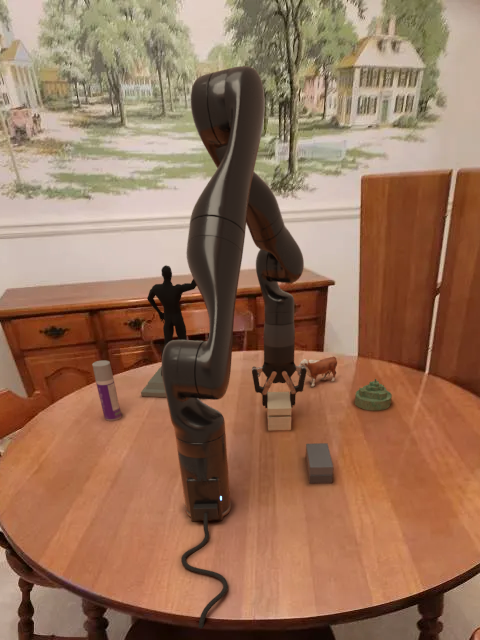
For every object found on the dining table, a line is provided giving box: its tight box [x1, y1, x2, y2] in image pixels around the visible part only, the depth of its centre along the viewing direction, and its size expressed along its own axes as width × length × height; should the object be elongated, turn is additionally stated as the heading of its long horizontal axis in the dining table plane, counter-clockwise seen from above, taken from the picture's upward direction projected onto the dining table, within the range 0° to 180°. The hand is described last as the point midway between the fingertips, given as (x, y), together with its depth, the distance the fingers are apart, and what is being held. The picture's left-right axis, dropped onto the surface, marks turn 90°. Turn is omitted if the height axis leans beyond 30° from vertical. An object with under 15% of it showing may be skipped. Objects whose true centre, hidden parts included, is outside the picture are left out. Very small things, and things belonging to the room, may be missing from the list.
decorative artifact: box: [354, 378, 393, 412], centre depth 137 cm, size 10×7×10 cm
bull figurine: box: [298, 356, 338, 388], centre depth 149 cm, size 4×13×8 cm, turn 115°
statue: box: [140, 264, 197, 398], centre depth 142 cm, size 20×19×36 cm
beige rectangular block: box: [266, 391, 292, 416], centre depth 128 cm, size 11×6×2 cm, turn 0°
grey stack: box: [304, 442, 334, 485], centre depth 110 cm, size 11×5×4 cm, turn 0°
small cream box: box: [266, 408, 292, 431], centre depth 130 cm, size 11×6×4 cm, turn 0°
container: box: [91, 359, 122, 422], centre depth 131 cm, size 5×5×15 cm
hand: (278, 406), depth 129 cm, fingers closed on beige rectangular block, 6 cm apart
